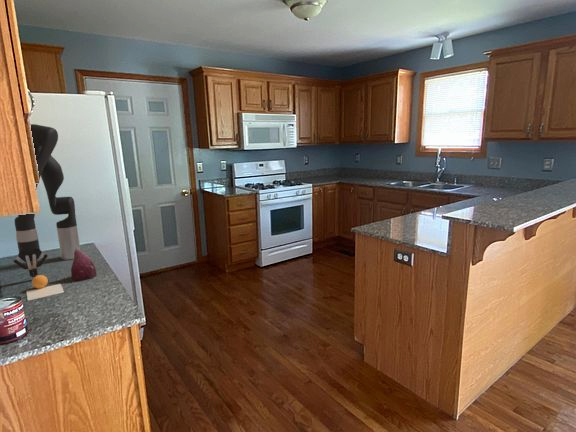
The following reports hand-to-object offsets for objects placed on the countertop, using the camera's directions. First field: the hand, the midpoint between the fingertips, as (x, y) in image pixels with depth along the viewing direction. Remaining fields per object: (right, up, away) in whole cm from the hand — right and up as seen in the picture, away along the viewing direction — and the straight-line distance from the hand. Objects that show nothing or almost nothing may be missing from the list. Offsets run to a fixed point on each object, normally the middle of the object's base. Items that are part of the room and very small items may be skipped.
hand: (33, 276), depth 157 cm
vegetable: (+21, -1, +3) cm, 21 cm away
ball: (+10, 0, -10) cm, 14 cm away
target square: (+15, -4, -14) cm, 21 cm away
